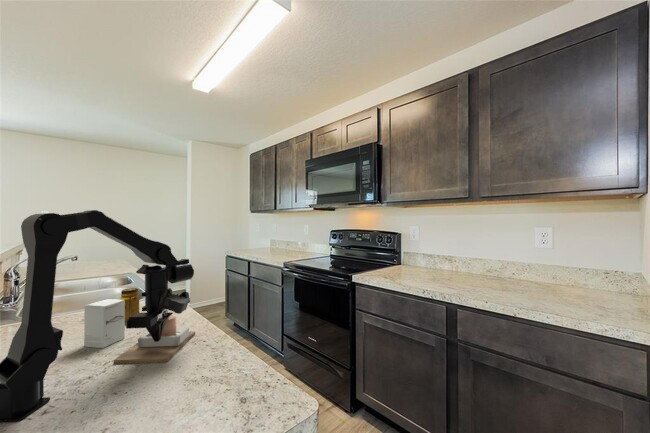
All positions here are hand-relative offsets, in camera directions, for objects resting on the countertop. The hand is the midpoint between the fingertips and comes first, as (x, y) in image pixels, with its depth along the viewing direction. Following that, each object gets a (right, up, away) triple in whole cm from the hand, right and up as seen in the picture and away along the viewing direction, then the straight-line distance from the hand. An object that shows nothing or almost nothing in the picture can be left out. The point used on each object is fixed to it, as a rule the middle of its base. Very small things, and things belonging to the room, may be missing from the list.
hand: (157, 341), depth 81 cm
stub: (-1, -2, +7) cm, 8 cm away
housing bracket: (0, -2, +4) cm, 5 cm away
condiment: (-26, -4, +27) cm, 37 cm away
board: (-1, -3, +3) cm, 4 cm away
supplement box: (-20, -4, +7) cm, 22 cm away
